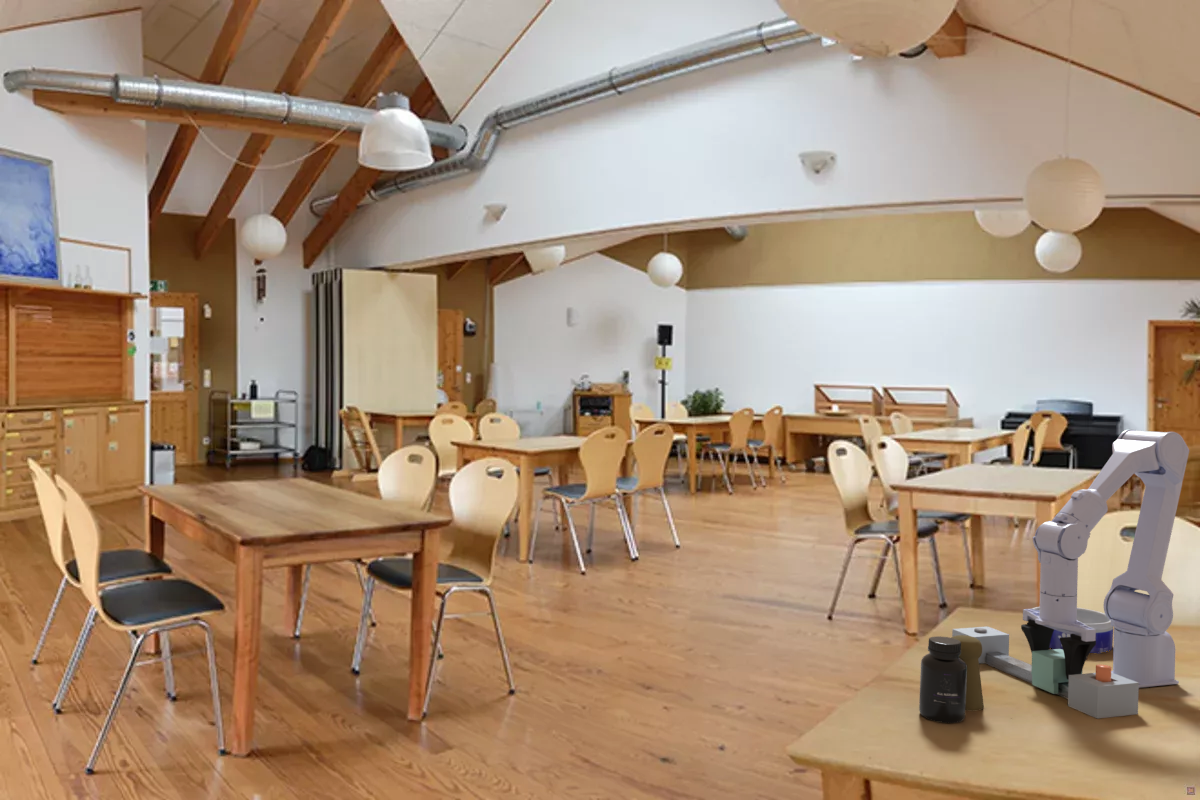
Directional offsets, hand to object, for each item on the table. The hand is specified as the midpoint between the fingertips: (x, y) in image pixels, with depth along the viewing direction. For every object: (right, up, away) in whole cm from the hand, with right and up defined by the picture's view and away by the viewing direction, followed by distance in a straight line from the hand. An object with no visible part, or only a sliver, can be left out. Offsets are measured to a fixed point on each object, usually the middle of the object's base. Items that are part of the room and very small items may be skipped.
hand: (1056, 672), depth 163 cm
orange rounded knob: (+3, 0, -10) cm, 10 cm away
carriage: (0, -3, 0) cm, 3 cm away
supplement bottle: (-24, -3, -13) cm, 28 cm away
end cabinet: (+3, -3, -10) cm, 10 cm away
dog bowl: (+17, -3, +30) cm, 35 cm away
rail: (-1, -3, +5) cm, 6 cm away
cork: (-19, -3, -8) cm, 20 cm away
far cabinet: (-6, -3, +19) cm, 20 cm away
